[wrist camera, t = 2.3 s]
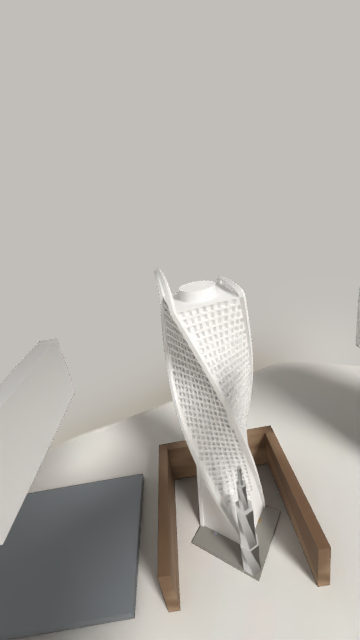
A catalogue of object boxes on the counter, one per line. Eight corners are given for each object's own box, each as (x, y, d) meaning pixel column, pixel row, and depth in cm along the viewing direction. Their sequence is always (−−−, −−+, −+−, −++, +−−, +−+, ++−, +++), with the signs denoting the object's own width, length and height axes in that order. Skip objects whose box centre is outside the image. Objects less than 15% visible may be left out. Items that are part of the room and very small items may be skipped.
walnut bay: (272, 455, 38) (270, 425, 36) (329, 584, 25) (330, 547, 23) (166, 474, 38) (159, 444, 37) (168, 612, 25) (157, 577, 24)
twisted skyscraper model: (180, 538, 31) (113, 283, 21) (214, 477, 37) (175, 256, 27) (258, 582, 26) (220, 282, 16) (283, 504, 33) (266, 250, 22)
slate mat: (143, 478, 38) (142, 473, 38) (134, 618, 25) (132, 613, 25) (23, 499, 39) (21, 494, 38) (-48, 649, 25) (-52, 644, 25)
